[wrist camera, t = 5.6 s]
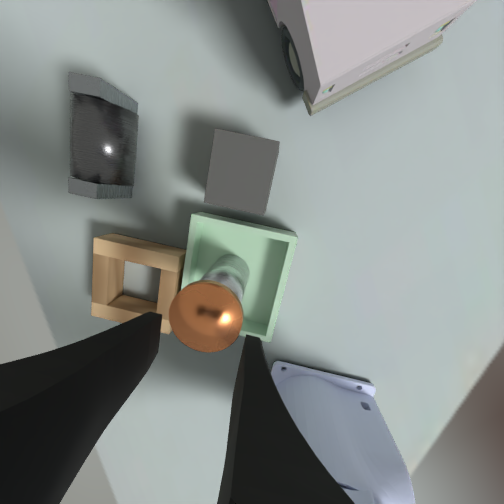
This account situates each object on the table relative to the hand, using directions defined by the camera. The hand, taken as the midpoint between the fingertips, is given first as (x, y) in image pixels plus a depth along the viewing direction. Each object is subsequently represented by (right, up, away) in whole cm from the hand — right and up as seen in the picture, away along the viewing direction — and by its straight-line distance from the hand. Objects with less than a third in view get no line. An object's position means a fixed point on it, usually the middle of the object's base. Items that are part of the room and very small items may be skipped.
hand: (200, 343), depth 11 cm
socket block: (-7, +2, +11) cm, 13 cm away
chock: (+2, +10, +8) cm, 13 cm away
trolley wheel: (-8, +12, +8) cm, 17 cm away
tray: (+1, +2, +10) cm, 10 cm away
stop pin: (+1, +2, +9) cm, 10 cm away
